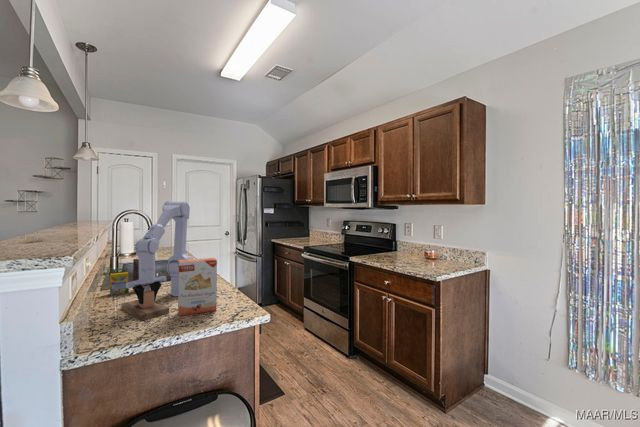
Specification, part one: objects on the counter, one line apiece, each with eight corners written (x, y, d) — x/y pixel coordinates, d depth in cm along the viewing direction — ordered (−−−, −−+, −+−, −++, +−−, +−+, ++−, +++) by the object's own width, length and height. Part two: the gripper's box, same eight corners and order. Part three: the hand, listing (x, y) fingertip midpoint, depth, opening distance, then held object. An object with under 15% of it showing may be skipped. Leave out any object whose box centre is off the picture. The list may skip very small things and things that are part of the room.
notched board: (147, 302, 130) (147, 297, 130) (169, 312, 117) (169, 307, 117) (121, 308, 122) (121, 303, 122) (141, 320, 109) (141, 315, 109)
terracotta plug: (149, 303, 123) (149, 289, 123) (154, 305, 121) (154, 291, 121) (139, 306, 120) (139, 291, 120) (143, 308, 118) (143, 293, 118)
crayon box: (110, 295, 139) (109, 270, 139) (110, 293, 141) (109, 269, 141) (128, 292, 143) (128, 268, 143) (128, 291, 146) (128, 267, 145)
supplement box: (141, 292, 144) (141, 259, 144) (132, 291, 145) (132, 259, 145) (154, 287, 153) (154, 256, 152) (146, 286, 154) (146, 256, 153)
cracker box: (178, 316, 113) (178, 262, 113) (178, 311, 119) (177, 259, 118) (217, 311, 120) (217, 259, 119) (214, 306, 125) (214, 256, 124)
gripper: (160, 264, 128) (160, 295, 128) (122, 270, 116) (122, 304, 117) (168, 266, 124) (169, 299, 124) (130, 272, 112) (130, 308, 113)
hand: (147, 302), depth 120 cm, fingers closed on terracotta plug, 4 cm apart
